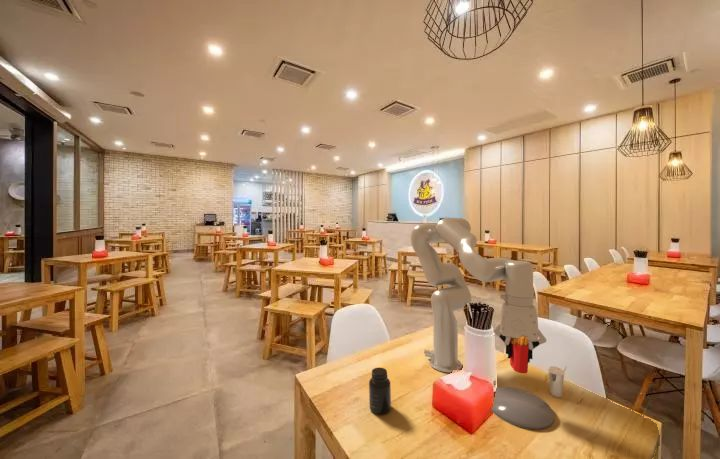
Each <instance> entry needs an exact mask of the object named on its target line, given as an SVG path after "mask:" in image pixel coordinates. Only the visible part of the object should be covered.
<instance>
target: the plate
mask: <svg viewBox="0 0 720 459" xmlns="http://www.w3.org/2000/svg"><path fill="white" fill-rule="evenodd" d="M495 388H496V393H495V397H494V404H493V408H491V409H490V410H491V411H490V412H492V413H493V414H494V415H495V416H497V417H498V418H499V419H501V420H502V421H504V422H506V423H508V424H510V425H513V426H516V427H519V428H522V429H525V430H534V431H536V430H544V429H545V430H546V429H548V428H550V427H551V426H552V425H553V423H554V416H555V414H554V411H553V409H552V408H551V406H550V405H549V404H548V403H547V402H546V401H545V400H544V399H543V398H541V397H540V396H537V395H535V394H534V393H531V392H529V391H526V390H524V389H520V388H517V387H510V386H500V387H499V386H498V387H495Z"/></svg>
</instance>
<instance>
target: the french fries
mask: <svg viewBox="0 0 720 459" xmlns="http://www.w3.org/2000/svg"><path fill="white" fill-rule="evenodd" d="M527 338H528V337H525V339H524V336H522V337H521V338H518V339H516V338H510V343H511V358H509V359H510V360H509V365H510V367H511V369H512V370H514V372H516V373H518V374H527V373H528V370H529V369H528V368H529V363H528V350H529V344H528V341H527Z"/></svg>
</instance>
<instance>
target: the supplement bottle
mask: <svg viewBox="0 0 720 459" xmlns="http://www.w3.org/2000/svg"><path fill="white" fill-rule="evenodd" d="M391 390H392V389H391V380H390V379H389V378H388V370H387V369H386V368H384V367H375V368H372V370H371V378H370V379H369V382H368V394H369V395H368V400H369V403H368V404H369V410H370V411H371V413H373V414H374V415H377V416H384V415H386V414H388V413H390V411H391V409H392V393H391Z"/></svg>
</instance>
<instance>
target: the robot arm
mask: <svg viewBox="0 0 720 459" xmlns="http://www.w3.org/2000/svg"><path fill="white" fill-rule="evenodd" d="M471 229H472V227H471V224H470V223H469V221H468V220H466V219H465V218H462V217H445V218H442V219H440V220H439V221H437V223H422V224H418V225H415V227H413V229H412V230H411V234H410V241H411V246H412V249H413V251H414V252H415V255H416V256H417V258H418V260H419V263H420V267H421V268H422V271H423V274H424V277H425V279H426V281H427V283H428V285H429V286H432V287H435V288H436V287H442V288H439V289H436V290H435V291H433V293H432V294H431V297H430V305H431V309H432V310H431V311H432V320H433V322H432V324H433V325H432V326H433V349H432V350H429V349H426V348H425V349H424V351H423V354H424V357H427V358H430V359H429V364H430V366H431V368H433V369H435V370H436V371H439V372H442V373H451V372H452V371H453V370H457V369H458V370H459V371H461V370H462V367H463V365H462V362H461V361H460V360H459V359H458V356H459V354H458V352H459V350H458V348H459V346H458V342H459V341H458V340H459V338H458V337H459V336H458V335H459V334H458V332H459V331H458V330H459V329H458V320H457V317H456V315H455V313H454V312H456V311H460V310H464V309H465V308H464V305H465V304H467V303H471V304H472V294H471V291H470V289H469V287H468V284H467V282H466V280H465V277H464V276H463V272H462V271H461V269H460V268H459V266H458V265H456V264H455V263H452V262H442V261H441V258H440V256H439V253H438V252H437V251H436V249H435V248H434V247H433V246H432V245H431V244H435V243H447V244H448V245H450V246H451V247H452V248H453V249H454V250H455V251H456V252H458V258H459V260H460V264H461V265H462V266H463V268H464V269H465V270H466V271H467V272H468V273H469V274H470V275H471V276H472V277H474V278H475V279H476V280H478V281H480V282H482V283H491V282H496V281H505V293H504V294H500V296H499V297H500V298H499V299H500V300H504V301H503V303H502V305H501V311H500V322H499V324H498V325H497V326H496V327H495V328H494V329H493V333H494V334H495V335H496V336H497V337H498V338H500V339H501V340H502V342H503V343H504V345H505V354H506V355H507V358H508V359H510V358H511V343H510V338H516V339H518V338H521V337H522V336H524V339H525V337H528V338H527V341H528V344H529V350H528V364H529V363H530V362H531V360H533V350H534V349H536V348H537V347H539V346H540V345H542V344H545V343H547V338H546V336H544V334H543V333H542V332H541V330H540V329H539V318H538V311H537V308H536V307H537V306H535V305H534V266H533V264H532V262H530V261H526V260H515V259H514V260H513V259H511V258H507V257H506V258H505V257H491V258H490V257H489V258H484V257H483V256H481V255H480V254H479V253H478V252H477V251H475V247H476V245H477V242H478V239H477V236H476V235H474V234H473V233H472V231H471ZM444 286H447V287H444ZM451 374H452V373H451Z"/></svg>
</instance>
